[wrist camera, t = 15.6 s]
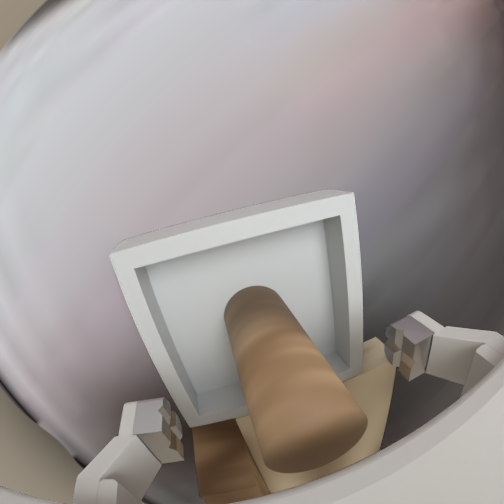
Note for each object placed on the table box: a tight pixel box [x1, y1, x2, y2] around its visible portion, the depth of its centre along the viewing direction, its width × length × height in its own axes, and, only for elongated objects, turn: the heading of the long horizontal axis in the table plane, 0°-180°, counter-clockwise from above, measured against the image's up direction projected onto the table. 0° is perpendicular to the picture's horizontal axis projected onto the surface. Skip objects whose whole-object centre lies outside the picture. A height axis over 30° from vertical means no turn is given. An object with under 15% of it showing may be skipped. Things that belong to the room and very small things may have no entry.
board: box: [235, 337, 396, 494], centre depth 17 cm, size 10×12×3 cm
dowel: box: [224, 286, 368, 473], centre depth 10 cm, size 3×3×8 cm
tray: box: [109, 189, 363, 428], centre depth 13 cm, size 10×10×2 cm
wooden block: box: [192, 418, 269, 504], centre depth 14 cm, size 3×8×6 cm, turn 12°
